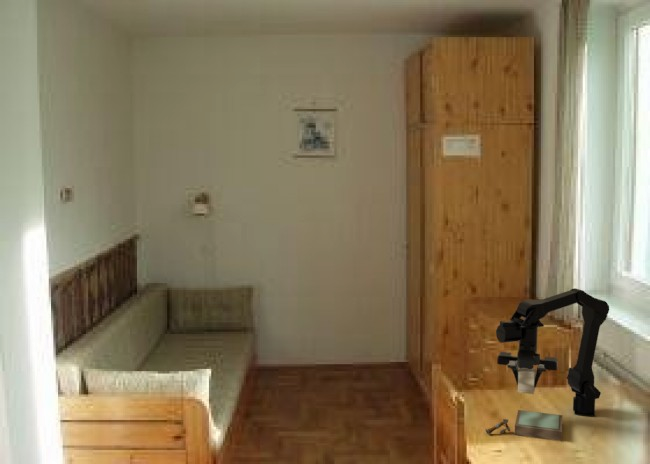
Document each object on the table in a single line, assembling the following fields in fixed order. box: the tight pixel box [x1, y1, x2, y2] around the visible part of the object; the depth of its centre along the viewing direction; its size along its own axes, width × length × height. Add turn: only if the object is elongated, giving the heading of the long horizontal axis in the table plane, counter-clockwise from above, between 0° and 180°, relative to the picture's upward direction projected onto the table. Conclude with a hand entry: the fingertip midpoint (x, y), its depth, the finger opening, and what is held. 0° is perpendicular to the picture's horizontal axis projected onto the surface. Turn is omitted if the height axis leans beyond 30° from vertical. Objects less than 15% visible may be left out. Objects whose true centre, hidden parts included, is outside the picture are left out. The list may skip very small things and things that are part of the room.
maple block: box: [517, 367, 537, 395], centre depth 226 cm, size 5×5×7 cm
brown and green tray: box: [513, 409, 563, 442], centre depth 219 cm, size 14×14×3 cm
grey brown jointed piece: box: [484, 418, 511, 436], centre depth 217 cm, size 2×8×4 cm, turn 105°
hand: (526, 386), depth 226 cm, fingers closed on maple block, 5 cm apart
